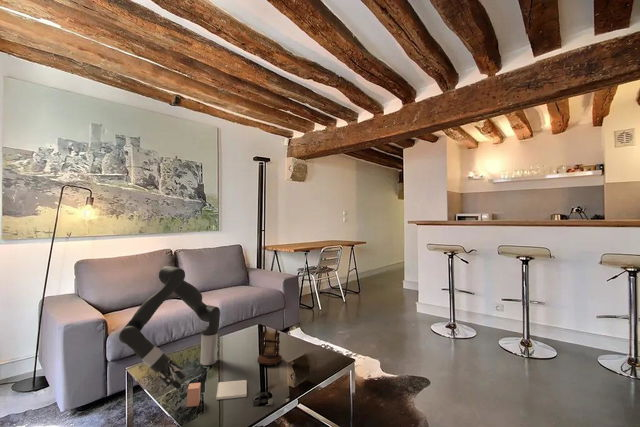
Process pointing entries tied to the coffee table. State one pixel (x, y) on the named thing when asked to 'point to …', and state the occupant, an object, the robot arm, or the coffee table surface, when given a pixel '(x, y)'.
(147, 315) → the robot arm
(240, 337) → the coffee table surface
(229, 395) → the pad
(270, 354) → the brown piece
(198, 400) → the terracotta block
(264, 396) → the black chunky block
